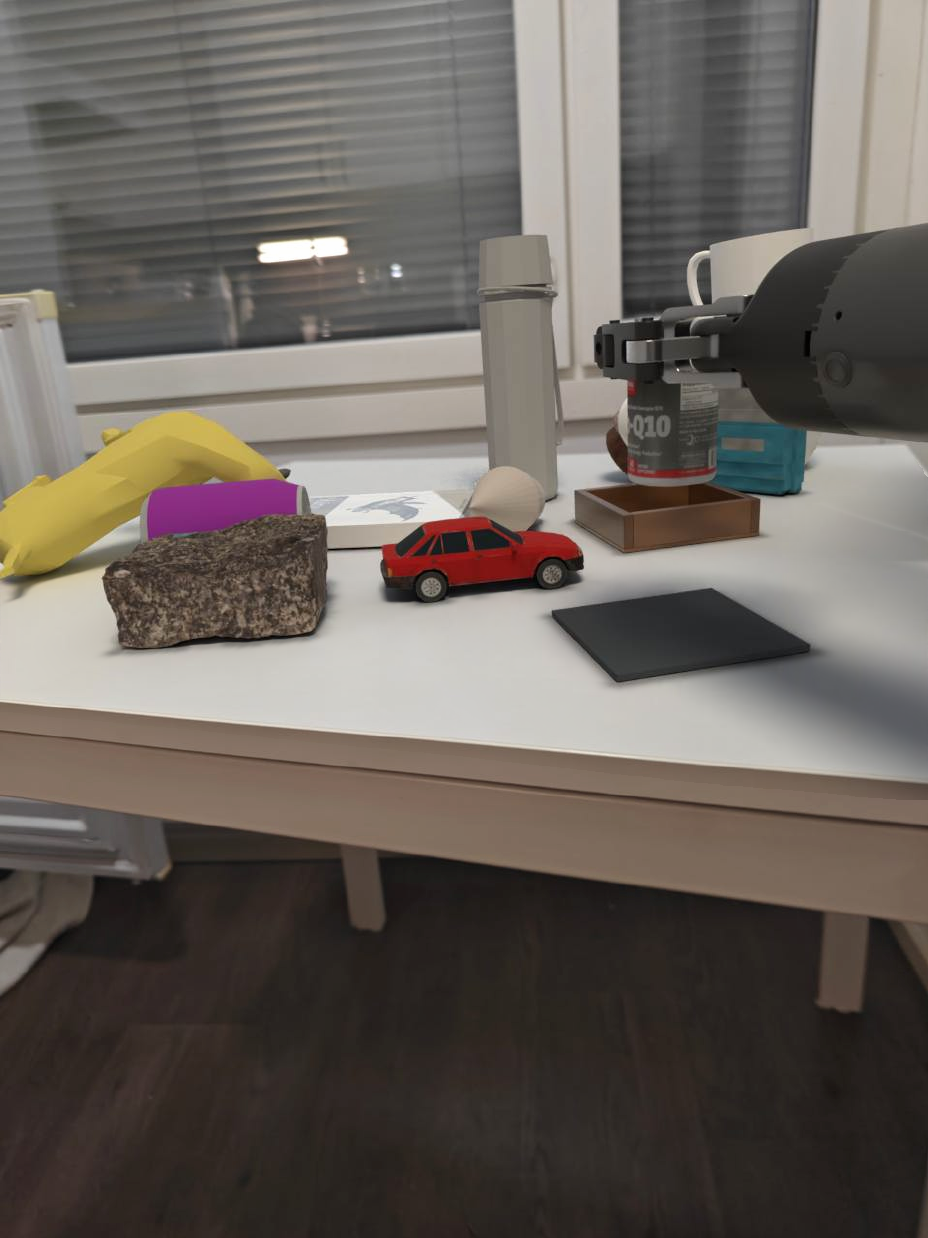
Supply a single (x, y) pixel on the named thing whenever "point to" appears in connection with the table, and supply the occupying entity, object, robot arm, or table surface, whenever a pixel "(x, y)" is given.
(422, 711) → the table surface
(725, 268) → the mug
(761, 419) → the teal upright box
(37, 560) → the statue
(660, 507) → the wooden tray
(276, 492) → the beverage can
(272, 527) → the stone
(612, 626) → the mat
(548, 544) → the toy car
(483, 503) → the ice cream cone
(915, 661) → the table surface
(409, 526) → the book
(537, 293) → the water bottle
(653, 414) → the pill bottle
